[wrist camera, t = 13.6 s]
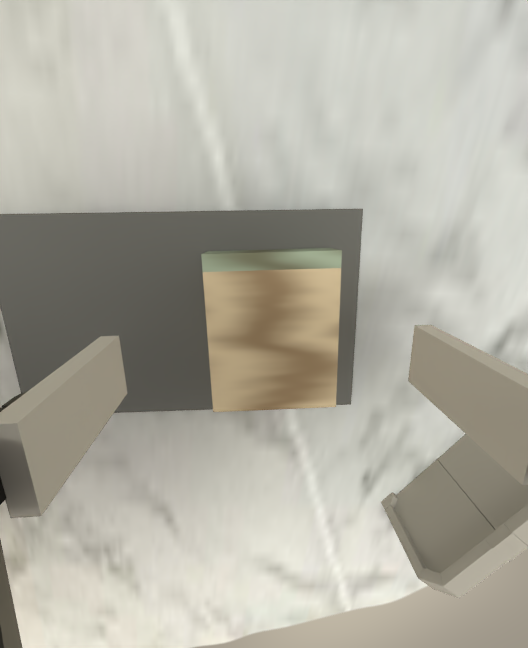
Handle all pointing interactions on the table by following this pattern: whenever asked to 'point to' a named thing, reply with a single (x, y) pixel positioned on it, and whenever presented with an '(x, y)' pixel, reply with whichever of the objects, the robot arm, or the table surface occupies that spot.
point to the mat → (149, 291)
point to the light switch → (460, 519)
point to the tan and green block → (272, 327)
